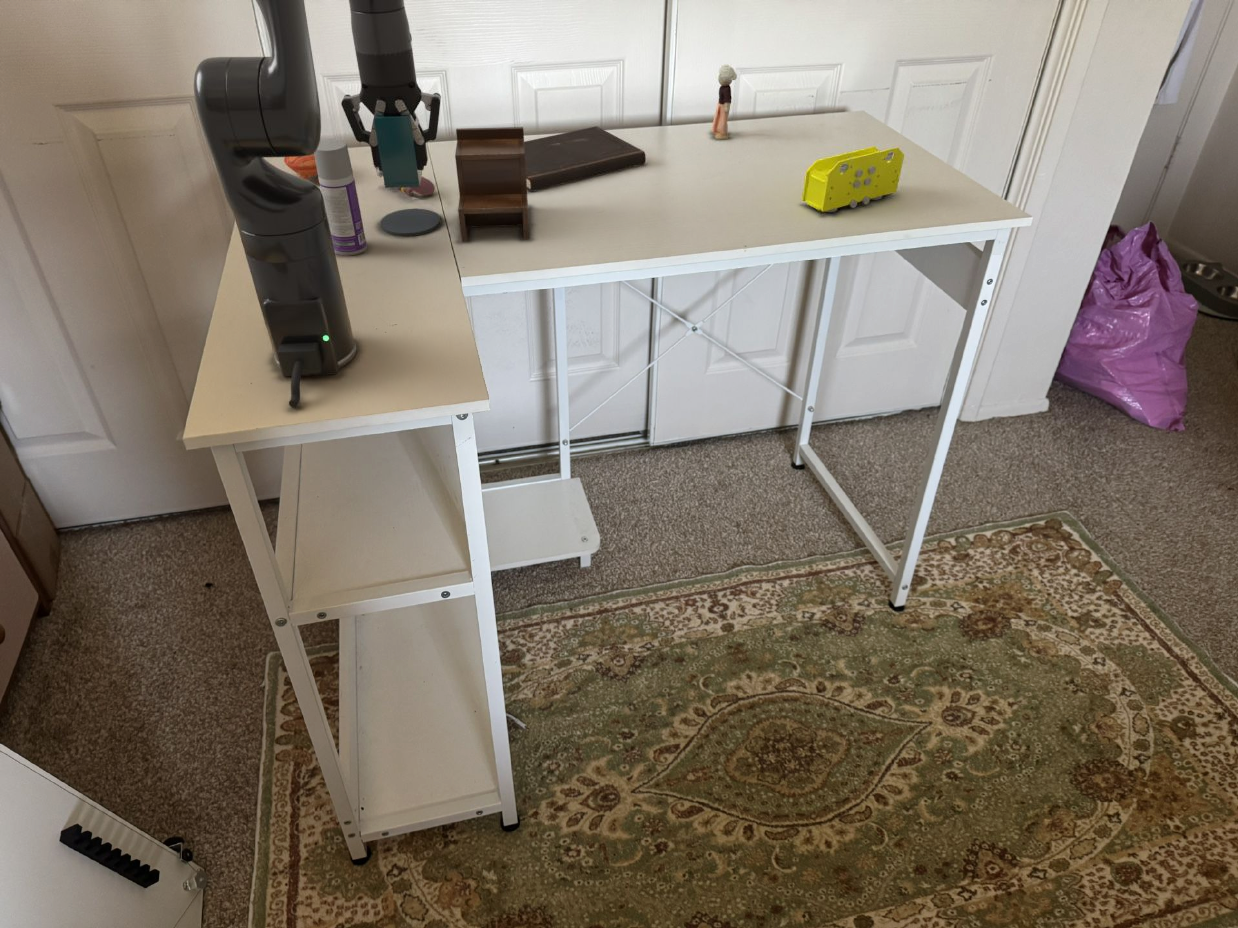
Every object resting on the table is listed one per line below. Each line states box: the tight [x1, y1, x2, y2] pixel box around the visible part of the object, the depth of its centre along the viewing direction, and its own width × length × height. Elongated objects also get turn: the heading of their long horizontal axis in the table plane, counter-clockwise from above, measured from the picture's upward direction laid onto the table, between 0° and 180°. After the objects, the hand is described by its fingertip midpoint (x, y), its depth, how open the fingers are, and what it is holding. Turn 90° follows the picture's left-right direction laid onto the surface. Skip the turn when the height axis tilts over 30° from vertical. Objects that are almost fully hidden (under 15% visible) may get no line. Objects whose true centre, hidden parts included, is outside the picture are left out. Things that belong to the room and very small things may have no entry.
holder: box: [372, 115, 423, 189], centre depth 125 cm, size 5×5×10 cm
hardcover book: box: [524, 125, 647, 192], centre depth 152 cm, size 16×23×2 cm
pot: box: [283, 154, 318, 180], centre depth 145 cm, size 8×8×7 cm
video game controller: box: [373, 165, 436, 196], centre depth 141 cm, size 10×5×7 cm, turn 45°
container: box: [314, 138, 368, 256], centre depth 121 cm, size 5×5×15 cm
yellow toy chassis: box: [801, 146, 905, 213], centre depth 138 cm, size 16×6×8 cm, turn 121°
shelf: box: [454, 126, 530, 242], centre depth 129 cm, size 12×10×12 cm
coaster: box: [380, 208, 442, 237], centre depth 133 cm, size 9×9×1 cm
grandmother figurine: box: [710, 64, 738, 140], centre depth 160 cm, size 8×4×13 cm, turn 10°
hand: (402, 168), depth 127 cm, fingers closed on holder, 5 cm apart
